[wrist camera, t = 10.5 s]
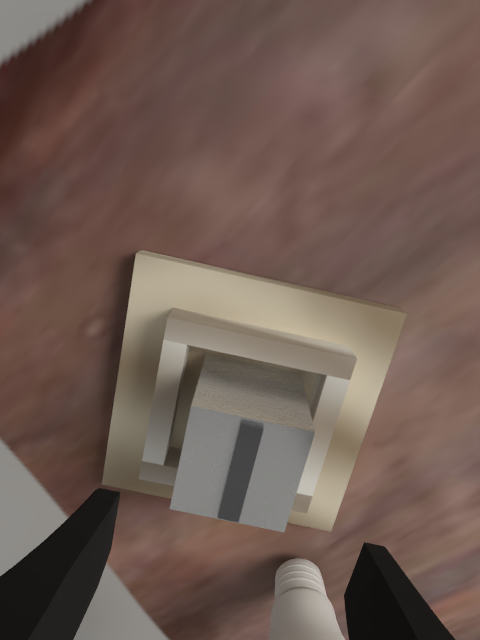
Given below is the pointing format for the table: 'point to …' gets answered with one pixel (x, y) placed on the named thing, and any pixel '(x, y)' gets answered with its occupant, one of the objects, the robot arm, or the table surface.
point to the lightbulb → (302, 604)
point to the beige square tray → (251, 346)
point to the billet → (244, 444)
